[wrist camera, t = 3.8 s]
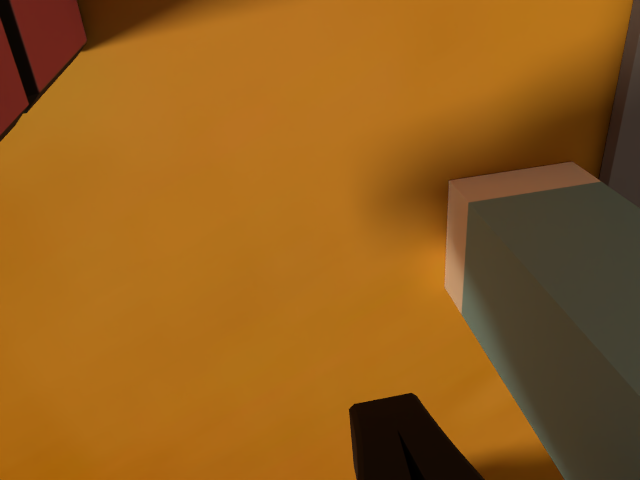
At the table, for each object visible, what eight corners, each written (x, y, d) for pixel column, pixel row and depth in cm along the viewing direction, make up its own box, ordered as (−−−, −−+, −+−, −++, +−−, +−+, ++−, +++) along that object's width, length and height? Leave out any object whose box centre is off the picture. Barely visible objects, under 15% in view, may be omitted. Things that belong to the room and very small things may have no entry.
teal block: (555, 267, 19) (823, 545, 11) (444, 287, 19) (633, 590, 11) (572, 161, 17) (918, 402, 9) (448, 180, 17) (688, 452, 8)
